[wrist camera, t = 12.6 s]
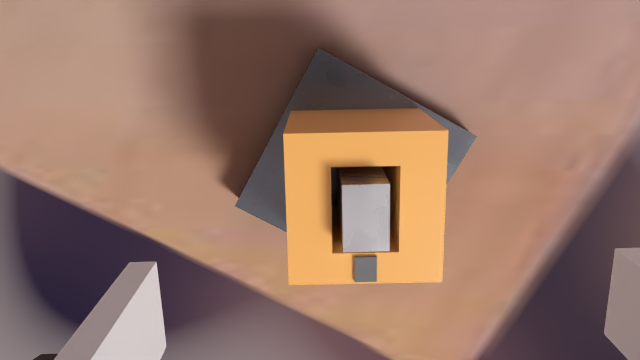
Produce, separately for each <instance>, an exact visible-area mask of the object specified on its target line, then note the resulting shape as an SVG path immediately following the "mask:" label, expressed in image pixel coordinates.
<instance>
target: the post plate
mask: <svg viewBox="0 0 640 360" xmlns="http://www.w3.org/2000/svg"><path fill="white" fill-rule="evenodd" d="M400 108H419V109H421V110H422V111H423V112H425V113H426V114H427V115H429V116H430V117H431V118H433V119H434V120H435V121H437V122H438V123H439V124H441V125H442V126H443V127H445V128H446V129H447V130H449V132H448V155H447V179H446V185H447V183H448V182H449V180H450V178H451V177H452V175H453V174H454V172H455V170H456V169H457V167H458V166H459V164H460V162H461V161H462V159H463V158H464V156H465V154H466V153H467V151H468V150H469V148H470V146H471V145H472V143H473V142H474V140H475V138H476V137H477V136H475V135H474V134H472V133H471V132H469V131H467V130H465V129H464V128H462V127H460V126H458V125H456V124H455V123H453V122H451V121H449V120H447V119H446V118H444V117H442V116H440V115H438V114H437V113H435V112H433V111H431V110H429V109H428V108H426V107H424V106H422V105H420V104H419V103H417V102H415V101H413V100H412V99H410V98H408V97H406V96H404V95H403V94H401V93H399V92H397V91H395V90H394V89H392V88H390V87H388V86H386V85H385V84H383V83H381V82H379V81H377V80H376V79H374V78H372V77H370V76H368V75H367V74H365V73H363V72H361V71H360V70H358V69H356V68H354V67H352V66H351V65H349V64H347V63H345V62H343V61H342V60H340V59H338V58H336V57H334V56H333V55H331V54H329V53H327V52H325V51H324V50H322V49H320V48H318V49H317V50H316V52H315V54H314V56H313V58H312V60H311V62H310V64H309V66H308V68H307V69H306V71H305V73H304V75H303V77H302V79H301V81H300V83H299V85H298V87H297V88H296V90H295V92H294V94H293V96H292V98H291V100H290V102H289V104H288V106H287V107H286V109H285V111H284V113H283V115H282V117H281V119H280V121H279V123H278V125H277V126H276V128H275V130H274V132H273V134H272V136H271V138H270V140H269V142H268V144H267V145H266V147H265V149H264V151H263V153H262V155H261V157H260V159H259V161H258V163H257V164H256V166H255V168H254V170H253V172H252V174H251V176H250V178H249V180H248V182H247V183H246V185H245V187H244V189H243V191H242V193H241V195H240V197H239V199H238V201H237V203H236V205H235V206H236V207H238V208H240V209H242V210H244V211H246V212H248V213H250V214H252V215H254V216H256V217H258V218H260V219H262V220H264V221H266V222H268V223H270V224H272V225H274V226H276V227H278V228H280V229H282V230H284V231H286V232H287V222H286V195H285V169H284V142H283V133H284V130H285V127H286V124H287V121H288V118H289V115H290V112H291V111H301V110H350V109H400ZM331 205H332V206H338V213H339V222H340V230H341V239H342V248H343V252H376V251H390V183H389V181H388V178H387V176H386V174H385V172H384V170H383V168H382V166H367V167H331Z"/></svg>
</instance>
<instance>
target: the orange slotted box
mask: <svg viewBox="0 0 640 360" xmlns="http://www.w3.org/2000/svg"><path fill="white" fill-rule="evenodd" d="M448 132H449V130H447V129H446V128H445V127H443V126H442V125H441V124H439V123H438V122H437V121H435V120H434V119H433V118H431V117H430V116H429V115H427V114H426V113H425V112H423V111H422V110H421V109H419V108H400V109H350V110H301V111H291V112H290V115H289V118H288V121H287V124H286V127H285V130H284V133H283V142H284V169H285V195H286V222H287V248H288V275H289V285H315V284H365V283H415V282H442V273H443V249H444V226H445V202H446V179H447V155H448ZM367 166H382V168H383V170H384V172H385V174H386V176H387V178H388V181H389V183H390V251H376V252H343V248H342V239H341V230H340V222H339V213H338V206H332V205H331V167H367Z"/></svg>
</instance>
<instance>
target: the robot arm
mask: <svg viewBox="0 0 640 360" xmlns="http://www.w3.org/2000/svg"><path fill="white" fill-rule="evenodd" d="M604 334H605V335H606V336H607V337H608V338H609V339H610V341H611V342H612V343H613V344H614V345H615V346H616V347H617V348H618V349H619V350H620V351H621V352H622V353H623V355H624V356H626V358H627V359H628V360H640V248H620V249H619V248H617V249H615V254H614V261H613V269H612V277H611V285H610V292H609V300H608V308H607V315H606V323H605V331H604ZM165 348H166V339H165V331H164V322H163V314H162V305H161V298H160V288H159V280H158V271H157V263H156V262H130V263H129V264H128V265H127V266H126V268H125V269H124V270H123V271H122V273H121V274H120V275H119V277H118V278H117V279H116V280H115V282H114V283H113V284H112V286H111V287H110V288H109V289H108V291H107V292H106V294H105V295H104V296H103V297H102V298H101V300H100V301H99V302H98V304H97V305H96V306H95V308H94V309H93V310H92V311H91V313H90V314H89V315H88V316H87V318H86V319H85V320H84V322H83V323H82V324H81V326H80V327H79V328H78V329H77V330H76V332H75V333H74V334H73V336H72V337H71V338H70V340H69V341H68V342H67V343H66V345H65V346H64V347H63V349H62V350H61V351H60V352H59V354H41V355H39V356H38V357H37V358H35V359H34V360H160V359H161V357H162V355H163V352H164V350H165Z"/></svg>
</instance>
